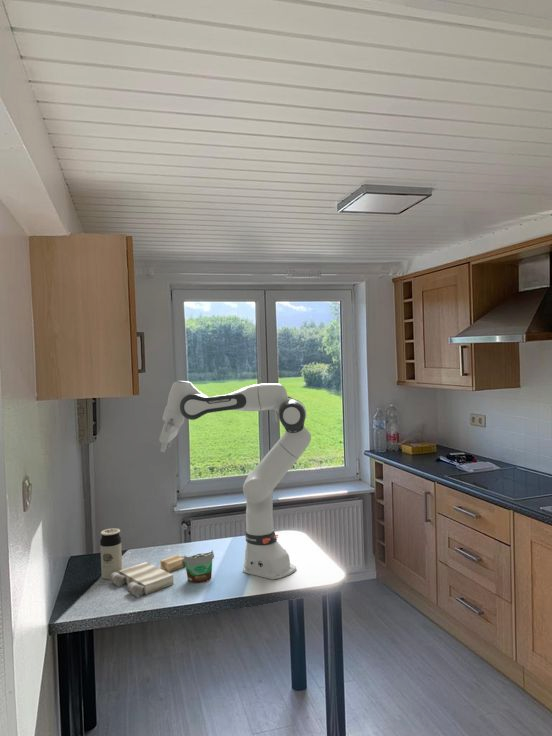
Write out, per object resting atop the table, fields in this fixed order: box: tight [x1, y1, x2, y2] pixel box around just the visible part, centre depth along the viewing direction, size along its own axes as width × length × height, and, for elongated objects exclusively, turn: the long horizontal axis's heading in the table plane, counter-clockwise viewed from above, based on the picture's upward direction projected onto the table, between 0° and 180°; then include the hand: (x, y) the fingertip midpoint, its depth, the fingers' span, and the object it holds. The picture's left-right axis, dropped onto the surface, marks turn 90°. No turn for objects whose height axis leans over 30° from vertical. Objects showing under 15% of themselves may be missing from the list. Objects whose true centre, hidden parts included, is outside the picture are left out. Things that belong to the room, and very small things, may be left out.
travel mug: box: [99, 528, 123, 580], centre depth 206 cm, size 8×8×18 cm
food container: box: [183, 550, 215, 584], centre depth 198 cm, size 12×6×10 cm, turn 117°
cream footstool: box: [108, 561, 174, 598], centre depth 197 cm, size 20×16×4 cm
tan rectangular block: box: [159, 553, 186, 573], centre depth 213 cm, size 6×10×4 cm, turn 135°
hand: (165, 449), depth 213 cm, fingers open, 8 cm apart
